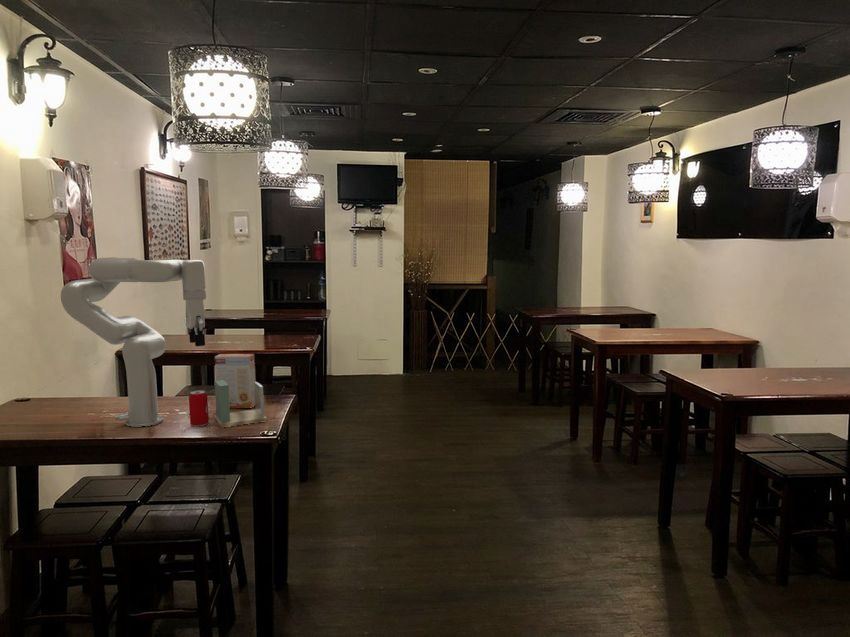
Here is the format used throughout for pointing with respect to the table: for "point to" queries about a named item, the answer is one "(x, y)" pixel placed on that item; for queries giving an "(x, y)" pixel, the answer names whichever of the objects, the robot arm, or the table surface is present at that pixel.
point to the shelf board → (241, 418)
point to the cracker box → (237, 378)
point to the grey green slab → (222, 400)
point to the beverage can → (198, 408)
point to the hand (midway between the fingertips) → (197, 344)
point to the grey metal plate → (259, 399)
